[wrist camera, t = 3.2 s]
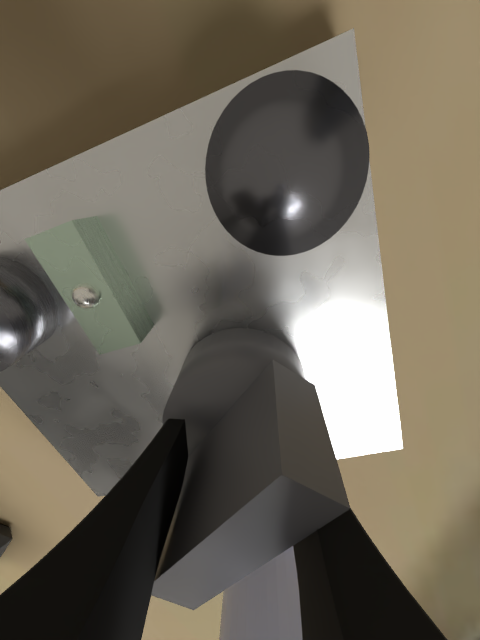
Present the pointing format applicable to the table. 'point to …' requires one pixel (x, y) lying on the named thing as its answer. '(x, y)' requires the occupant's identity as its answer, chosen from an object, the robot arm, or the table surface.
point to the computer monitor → (4, 538)
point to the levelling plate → (201, 263)
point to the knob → (245, 464)
